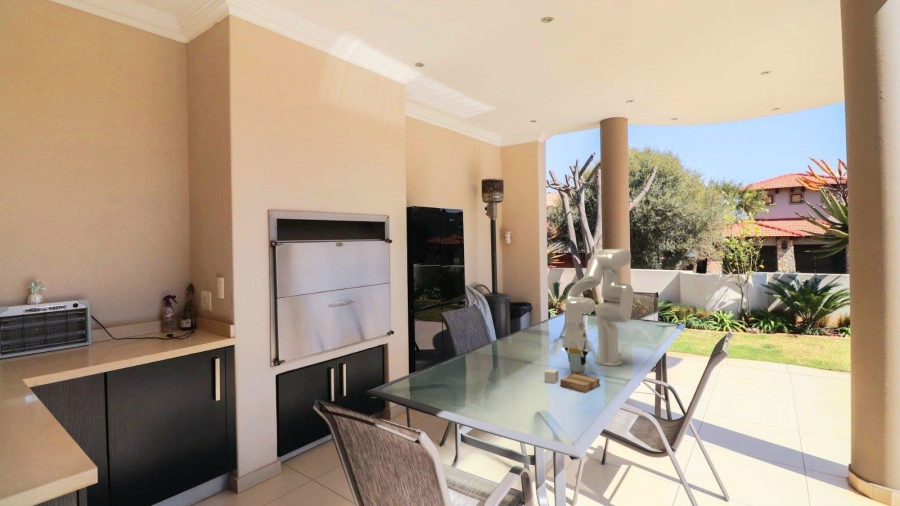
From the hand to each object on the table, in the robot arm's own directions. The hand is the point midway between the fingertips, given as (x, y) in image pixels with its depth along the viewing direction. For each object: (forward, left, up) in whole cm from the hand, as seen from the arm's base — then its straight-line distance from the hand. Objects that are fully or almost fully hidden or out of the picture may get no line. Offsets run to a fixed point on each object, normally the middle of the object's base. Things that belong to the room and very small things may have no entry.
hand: (577, 362), depth 197 cm
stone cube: (+15, -4, -6) cm, 17 cm away
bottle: (0, 0, -5) cm, 5 cm away
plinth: (+12, +9, -6) cm, 16 cm away
